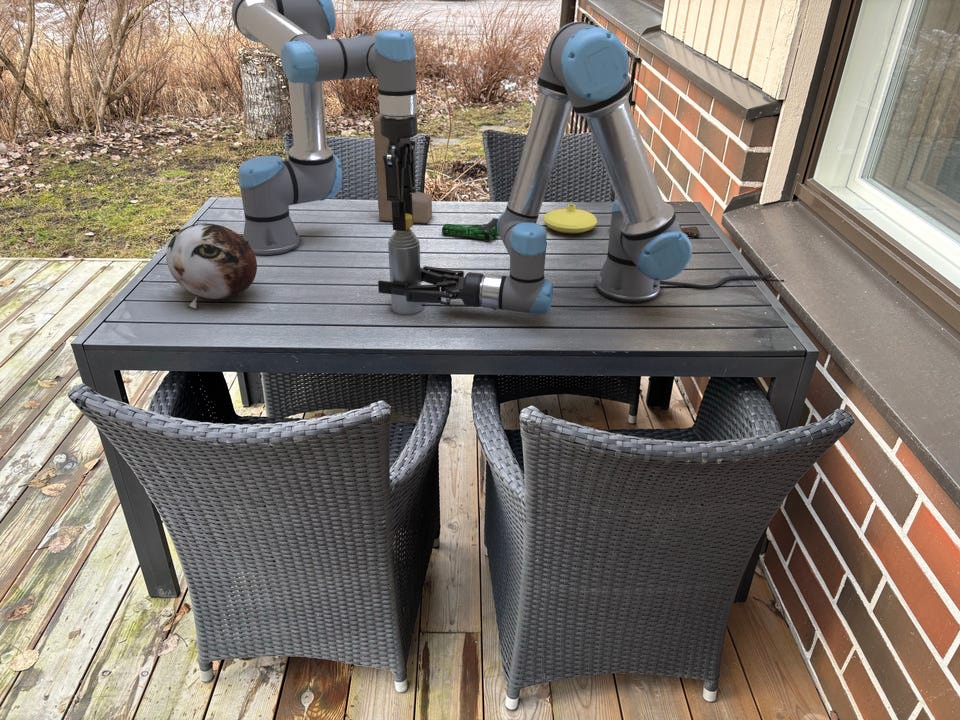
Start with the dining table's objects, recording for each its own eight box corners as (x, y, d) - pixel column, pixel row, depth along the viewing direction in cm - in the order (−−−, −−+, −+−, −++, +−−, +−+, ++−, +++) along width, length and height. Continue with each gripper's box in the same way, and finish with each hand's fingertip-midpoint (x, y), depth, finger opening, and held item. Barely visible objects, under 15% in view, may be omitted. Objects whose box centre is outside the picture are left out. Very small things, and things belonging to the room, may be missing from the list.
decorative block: (427, 224, 212) (425, 120, 197) (378, 221, 214) (372, 118, 199) (432, 215, 219) (430, 114, 204) (384, 213, 221) (379, 112, 205)
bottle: (389, 313, 163) (383, 223, 152) (394, 300, 169) (389, 212, 158) (419, 315, 162) (416, 224, 151) (423, 301, 168) (421, 213, 157)
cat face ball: (130, 285, 161) (164, 203, 163) (192, 308, 177) (221, 233, 178) (195, 307, 151) (229, 220, 152) (254, 330, 166) (285, 250, 168)
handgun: (511, 219, 210) (493, 234, 198) (511, 228, 211) (492, 244, 199) (461, 212, 215) (440, 226, 203) (461, 221, 217) (440, 236, 204)
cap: (413, 229, 154) (412, 219, 153) (393, 229, 153) (393, 219, 152) (412, 222, 157) (412, 212, 156) (393, 223, 157) (392, 213, 156)
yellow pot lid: (559, 216, 220) (561, 193, 217) (605, 227, 212) (608, 204, 209) (532, 230, 209) (533, 207, 206) (580, 242, 201) (582, 218, 198)
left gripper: (395, 105, 151) (399, 212, 163) (364, 123, 137) (372, 238, 149) (428, 107, 150) (431, 215, 162) (402, 125, 135) (406, 242, 147)
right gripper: (472, 325, 152) (370, 313, 157) (491, 287, 169) (399, 277, 173) (472, 294, 148) (368, 282, 153) (492, 258, 165) (397, 248, 169)
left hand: (403, 226), depth 155 cm, fingers closed on cap, 4 cm apart
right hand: (384, 279), depth 163 cm, fingers closed on bottle, 7 cm apart
